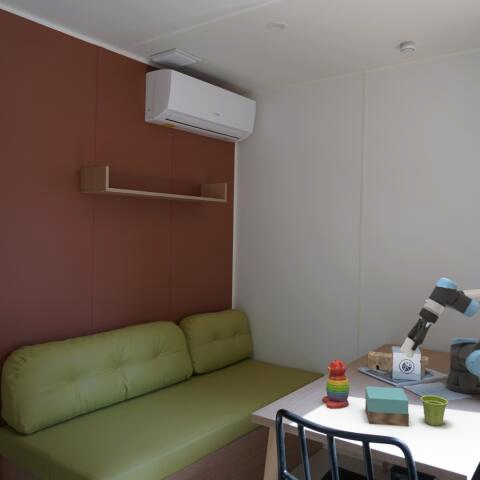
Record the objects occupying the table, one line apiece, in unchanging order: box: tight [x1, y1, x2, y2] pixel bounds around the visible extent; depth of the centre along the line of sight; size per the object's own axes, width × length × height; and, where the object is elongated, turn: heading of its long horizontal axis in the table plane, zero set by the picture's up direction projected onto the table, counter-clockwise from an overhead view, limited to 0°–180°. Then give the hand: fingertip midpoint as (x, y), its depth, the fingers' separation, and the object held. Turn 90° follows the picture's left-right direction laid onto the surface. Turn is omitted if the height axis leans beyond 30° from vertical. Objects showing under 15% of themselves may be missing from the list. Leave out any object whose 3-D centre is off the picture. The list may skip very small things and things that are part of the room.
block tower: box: [367, 350, 429, 376], centre depth 253 cm, size 8×8×29 cm
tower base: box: [364, 402, 410, 427], centre depth 188 cm, size 14×14×5 cm
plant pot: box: [420, 395, 449, 426], centre depth 184 cm, size 9×9×9 cm
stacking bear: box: [321, 359, 350, 410], centre depth 203 cm, size 11×10×18 cm
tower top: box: [364, 386, 409, 414], centre depth 188 cm, size 14×14×5 cm
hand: (405, 354), depth 211 cm, fingers open, 13 cm apart
